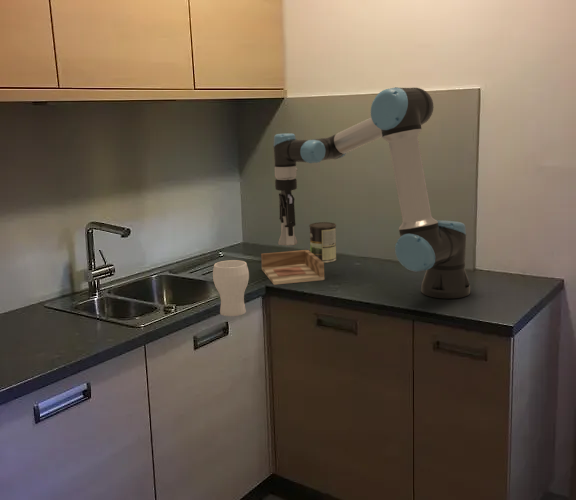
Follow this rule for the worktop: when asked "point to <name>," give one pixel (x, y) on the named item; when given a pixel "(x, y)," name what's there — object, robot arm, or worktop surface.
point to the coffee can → (323, 241)
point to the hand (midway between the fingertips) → (288, 242)
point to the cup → (231, 286)
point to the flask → (283, 235)
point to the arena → (292, 267)
